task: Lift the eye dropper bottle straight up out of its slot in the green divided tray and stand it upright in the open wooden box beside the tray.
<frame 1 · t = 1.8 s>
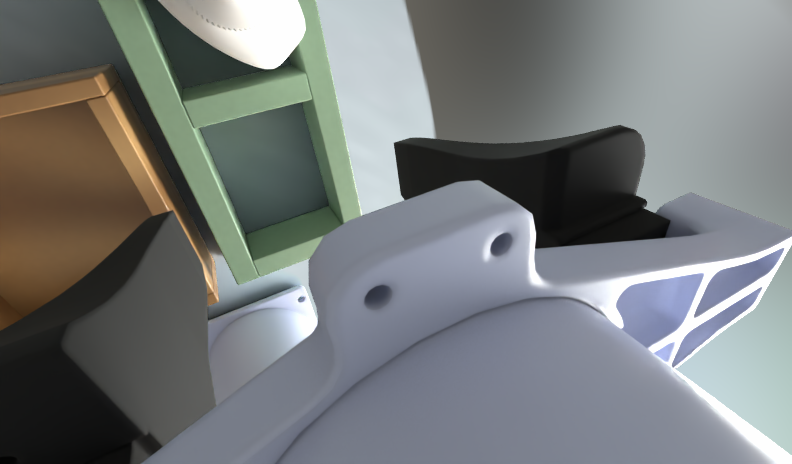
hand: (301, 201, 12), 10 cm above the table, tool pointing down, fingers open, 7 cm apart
green divided tray: (243, 88, 19), on the table
open wooden box: (64, 209, 18), on the table
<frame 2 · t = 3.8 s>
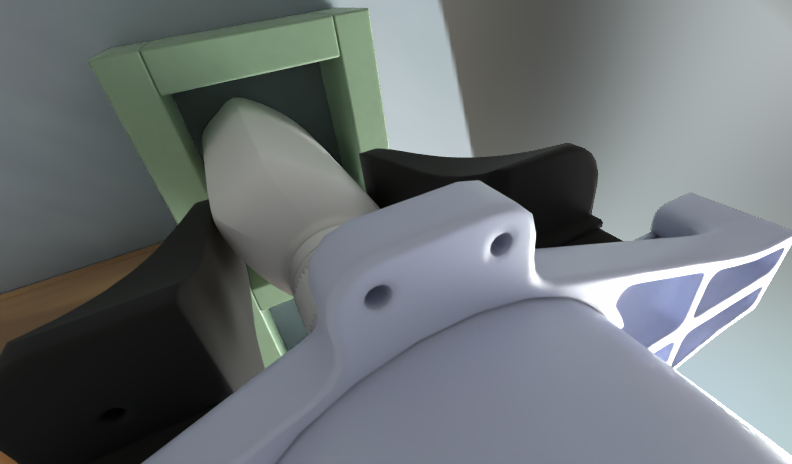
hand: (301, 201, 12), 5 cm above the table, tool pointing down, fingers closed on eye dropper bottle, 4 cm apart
eye dropper bottle: (274, 155, 16), resting in green divided tray, touching gripper
green divided tray: (302, 239, 18), on the table
open wooden box: (115, 375, 17), on the table
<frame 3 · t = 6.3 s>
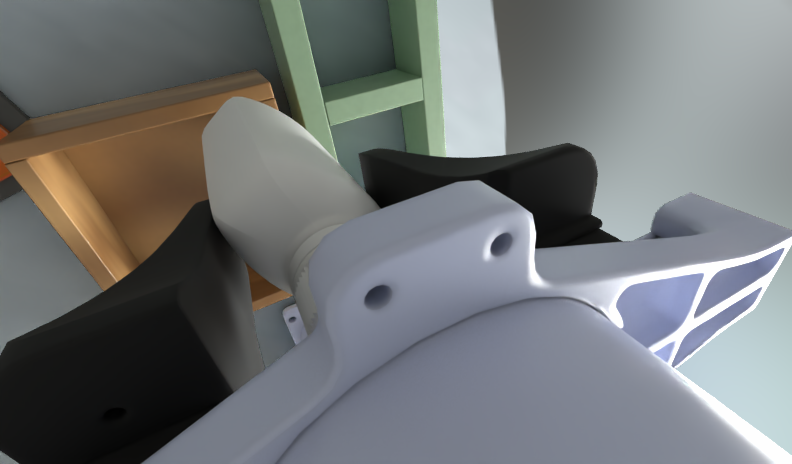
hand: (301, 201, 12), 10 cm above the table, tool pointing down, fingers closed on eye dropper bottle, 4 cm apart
eye dropper bottle: (274, 155, 16), point 6 cm above the table, touching gripper
green divided tray: (355, 90, 22), on the table
open wooden box: (202, 197, 21), on the table
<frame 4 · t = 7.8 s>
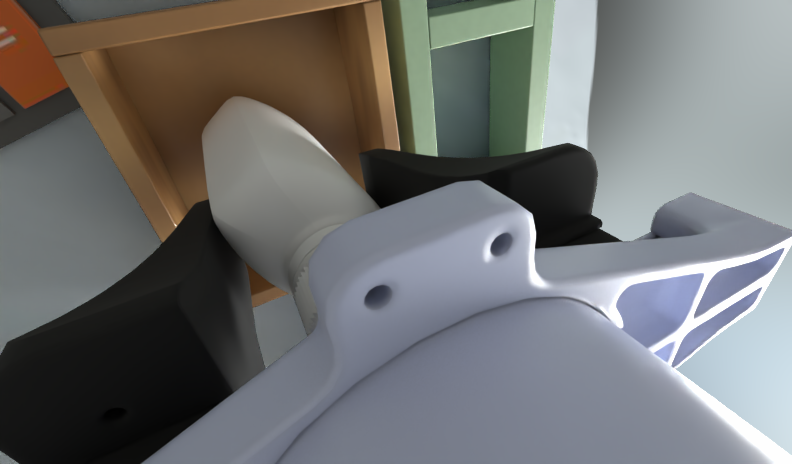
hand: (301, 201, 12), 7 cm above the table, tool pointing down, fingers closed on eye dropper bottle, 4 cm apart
eye dropper bottle: (274, 155, 16), point 2 cm above the table, touching gripper
green divided tray: (444, 19, 19), on the table
open wooden box: (267, 142, 18), on the table
when the fingers open (5 cm above the table, at t = 8.8 s): eye dropper bottle stays where it is, resting on open wooden box.
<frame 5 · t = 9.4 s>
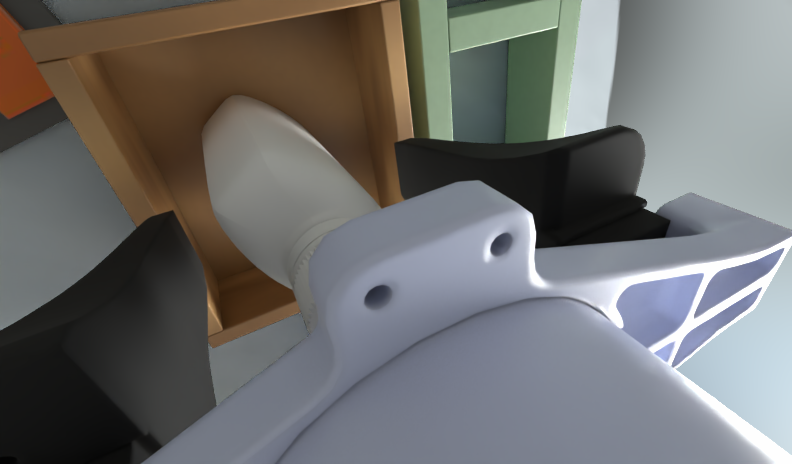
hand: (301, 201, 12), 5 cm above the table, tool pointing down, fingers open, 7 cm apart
eye dropper bottle: (273, 153, 16), resting on open wooden box
green divided tray: (461, 20, 17), on the table
open wooden box: (272, 151, 16), on the table
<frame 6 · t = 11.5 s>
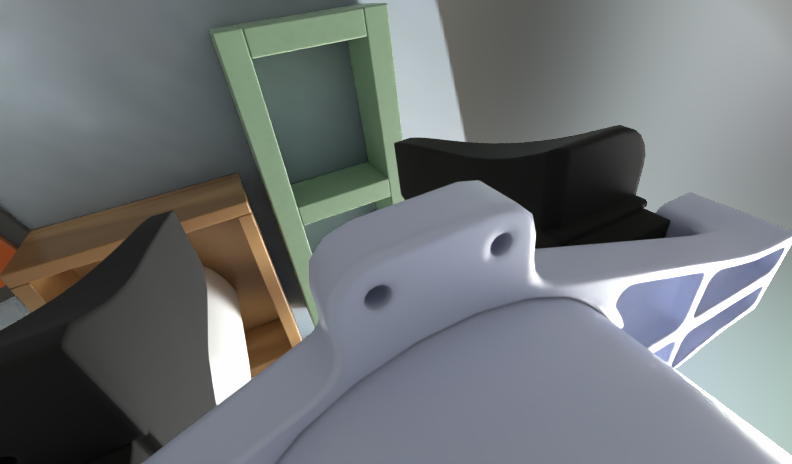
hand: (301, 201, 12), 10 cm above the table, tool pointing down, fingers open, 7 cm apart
eye dropper bottle: (187, 283, 23), resting on open wooden box
green divided tray: (330, 181, 24), on the table
open wooden box: (188, 281, 23), on the table
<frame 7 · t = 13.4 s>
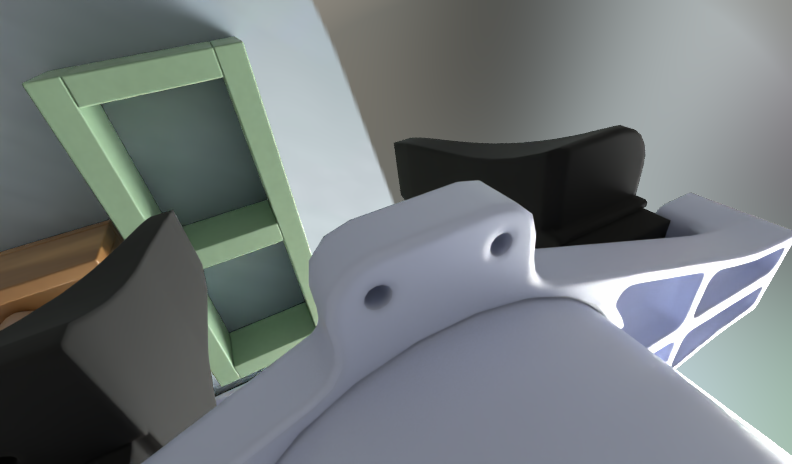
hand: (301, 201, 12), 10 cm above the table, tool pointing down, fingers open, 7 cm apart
green divided tray: (225, 222, 22), on the table
open wooden box: (68, 332, 21), on the table
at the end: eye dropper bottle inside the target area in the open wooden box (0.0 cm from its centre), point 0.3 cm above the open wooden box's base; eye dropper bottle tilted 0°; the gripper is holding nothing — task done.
